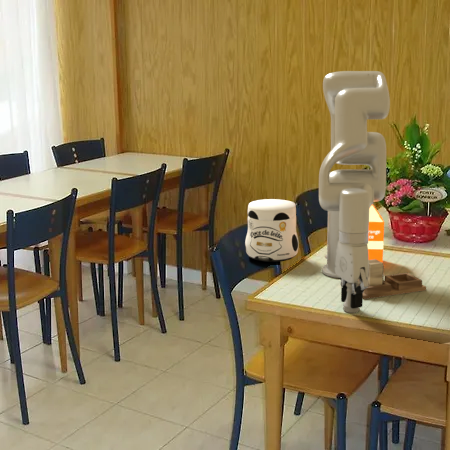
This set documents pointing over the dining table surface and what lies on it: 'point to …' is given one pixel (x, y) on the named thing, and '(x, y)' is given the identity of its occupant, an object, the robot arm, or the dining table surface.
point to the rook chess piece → (349, 300)
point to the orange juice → (375, 235)
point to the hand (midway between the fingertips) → (351, 303)
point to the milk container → (271, 230)
